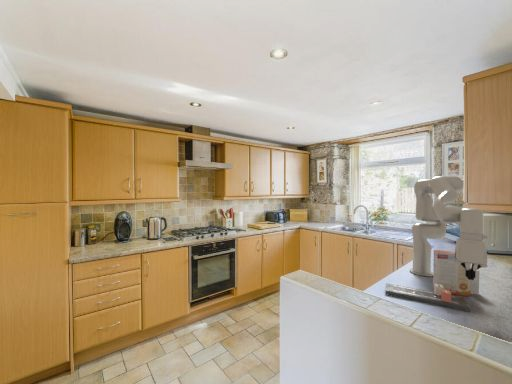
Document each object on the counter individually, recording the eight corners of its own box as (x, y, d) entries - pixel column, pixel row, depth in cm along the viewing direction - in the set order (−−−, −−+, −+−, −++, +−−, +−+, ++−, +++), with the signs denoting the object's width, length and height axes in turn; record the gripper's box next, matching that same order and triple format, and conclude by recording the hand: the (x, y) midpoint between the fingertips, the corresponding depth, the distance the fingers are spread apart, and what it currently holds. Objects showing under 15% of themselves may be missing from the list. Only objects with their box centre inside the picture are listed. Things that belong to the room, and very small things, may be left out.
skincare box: (460, 288, 127) (461, 266, 127) (469, 289, 127) (469, 266, 127) (470, 293, 121) (471, 270, 121) (479, 294, 121) (480, 270, 121)
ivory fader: (434, 291, 118) (434, 283, 118) (441, 292, 116) (441, 284, 116) (435, 294, 114) (435, 285, 114) (443, 295, 113) (443, 287, 113)
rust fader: (440, 297, 111) (441, 288, 111) (449, 299, 109) (449, 290, 109) (442, 301, 107) (442, 292, 107) (451, 302, 106) (451, 293, 106)
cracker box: (464, 292, 123) (465, 251, 123) (470, 297, 117) (471, 254, 117) (432, 288, 127) (433, 249, 127) (436, 292, 122) (437, 251, 121)
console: (386, 286, 128) (386, 282, 128) (463, 301, 112) (463, 297, 112) (385, 294, 118) (385, 290, 118) (470, 311, 102) (470, 306, 102)
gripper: (491, 237, 103) (490, 279, 103) (447, 233, 111) (446, 273, 111) (497, 240, 97) (497, 285, 97) (450, 236, 104) (450, 278, 104)
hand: (470, 278), depth 104 cm, fingers closed
